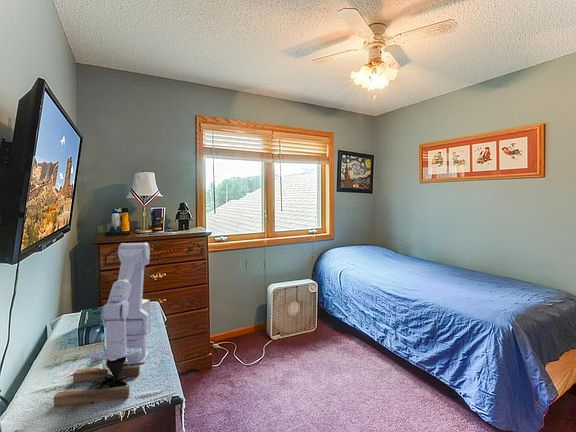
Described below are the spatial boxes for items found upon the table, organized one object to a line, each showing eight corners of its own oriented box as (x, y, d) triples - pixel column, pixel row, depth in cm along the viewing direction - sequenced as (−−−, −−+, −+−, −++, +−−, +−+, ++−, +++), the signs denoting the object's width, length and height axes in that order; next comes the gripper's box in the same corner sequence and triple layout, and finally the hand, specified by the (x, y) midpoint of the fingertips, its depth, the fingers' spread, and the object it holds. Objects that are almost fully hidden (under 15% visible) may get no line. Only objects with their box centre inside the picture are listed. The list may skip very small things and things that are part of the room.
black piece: (89, 406, 91) (89, 392, 91) (78, 398, 95) (77, 383, 95) (130, 384, 101) (130, 371, 101) (118, 377, 105) (117, 364, 105)
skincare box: (140, 329, 142) (139, 298, 141) (151, 330, 140) (150, 299, 139) (126, 337, 134) (125, 304, 133) (138, 339, 132) (137, 305, 131)
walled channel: (75, 379, 103) (75, 370, 103) (139, 372, 107) (139, 363, 107) (53, 407, 90) (53, 396, 90) (128, 398, 94) (127, 387, 94)
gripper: (85, 347, 93) (87, 390, 94) (137, 342, 96) (138, 384, 97) (94, 336, 100) (96, 376, 101) (142, 332, 103) (144, 371, 104)
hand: (117, 379), depth 100 cm, fingers closed
